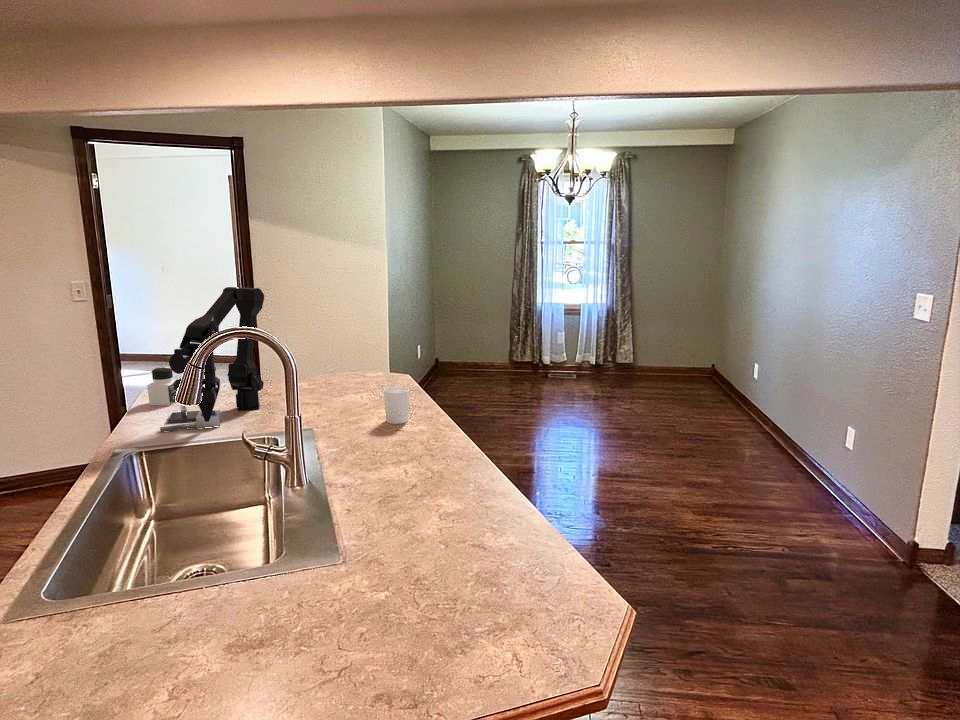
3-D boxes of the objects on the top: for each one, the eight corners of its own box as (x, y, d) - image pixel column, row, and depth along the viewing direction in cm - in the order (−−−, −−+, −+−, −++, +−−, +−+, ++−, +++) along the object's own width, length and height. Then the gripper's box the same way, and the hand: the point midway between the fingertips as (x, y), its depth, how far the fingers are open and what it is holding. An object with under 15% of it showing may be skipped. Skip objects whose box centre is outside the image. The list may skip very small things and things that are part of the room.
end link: (221, 421, 184) (220, 410, 183) (219, 427, 178) (218, 415, 178) (199, 423, 182) (198, 411, 181) (197, 429, 177) (196, 417, 176)
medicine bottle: (170, 406, 200) (166, 370, 197) (149, 405, 200) (145, 370, 197) (181, 400, 207) (177, 365, 204) (160, 399, 207) (157, 365, 204)
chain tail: (194, 426, 179) (194, 422, 179) (194, 428, 178) (194, 424, 177) (160, 430, 176) (160, 426, 175) (160, 432, 174) (160, 428, 173)
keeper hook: (200, 413, 192) (198, 398, 191) (197, 421, 184) (195, 405, 183) (172, 415, 189) (170, 400, 188) (168, 423, 182) (166, 407, 181)
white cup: (412, 417, 189) (411, 386, 187) (407, 425, 182) (406, 393, 180) (387, 416, 190) (387, 385, 188) (381, 424, 182) (380, 392, 180)
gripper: (178, 361, 183) (183, 410, 186) (168, 375, 165) (174, 429, 169) (218, 358, 186) (222, 407, 189) (212, 372, 169) (217, 425, 172)
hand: (208, 416), depth 180 cm, fingers open, 9 cm apart
